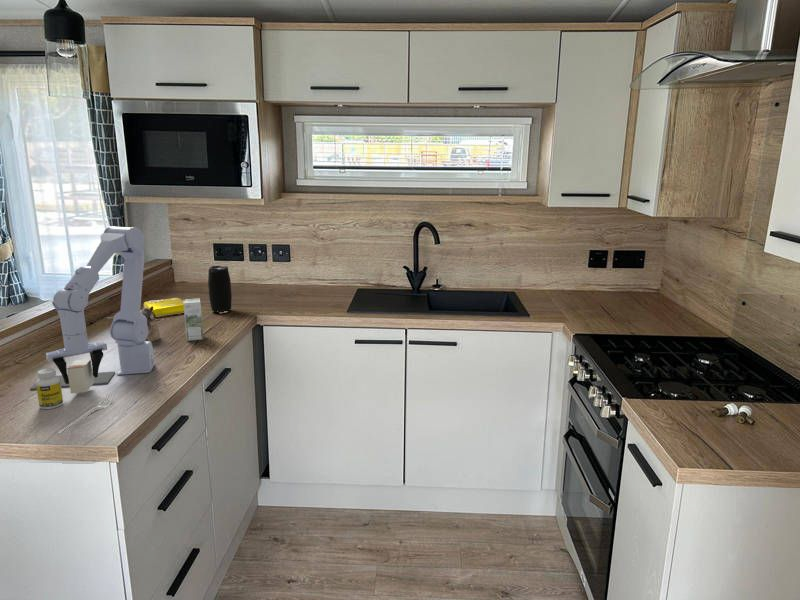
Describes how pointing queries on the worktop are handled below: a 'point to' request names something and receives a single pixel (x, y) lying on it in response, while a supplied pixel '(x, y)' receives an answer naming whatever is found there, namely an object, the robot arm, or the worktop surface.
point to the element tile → (165, 306)
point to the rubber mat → (101, 379)
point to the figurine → (151, 324)
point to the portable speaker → (219, 288)
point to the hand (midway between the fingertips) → (81, 379)
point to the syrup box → (193, 319)
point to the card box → (80, 376)
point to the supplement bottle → (49, 389)
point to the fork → (92, 410)
